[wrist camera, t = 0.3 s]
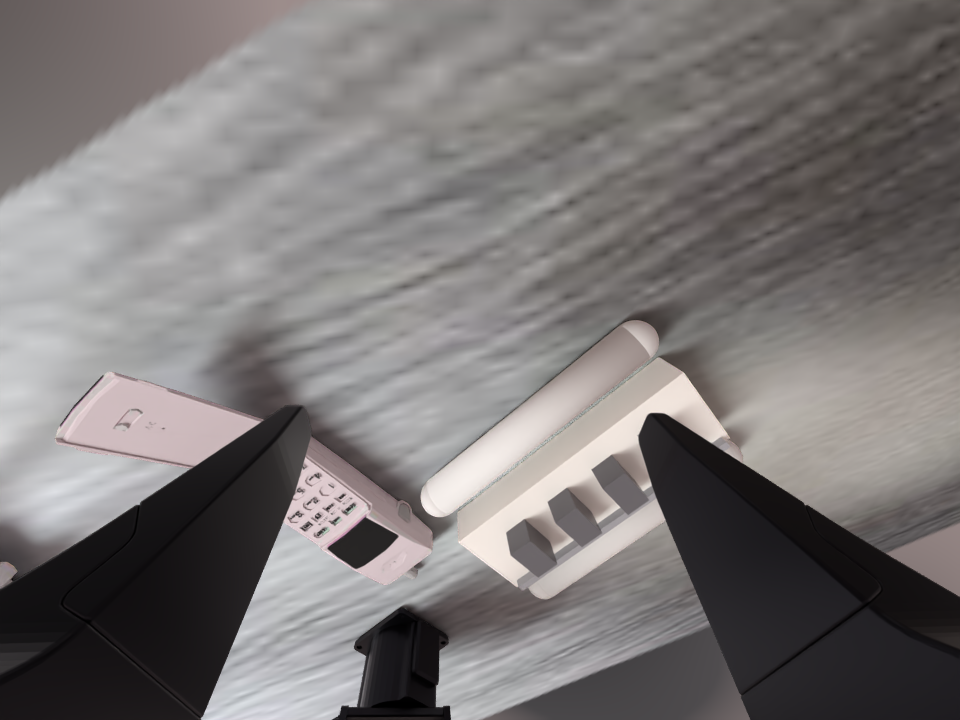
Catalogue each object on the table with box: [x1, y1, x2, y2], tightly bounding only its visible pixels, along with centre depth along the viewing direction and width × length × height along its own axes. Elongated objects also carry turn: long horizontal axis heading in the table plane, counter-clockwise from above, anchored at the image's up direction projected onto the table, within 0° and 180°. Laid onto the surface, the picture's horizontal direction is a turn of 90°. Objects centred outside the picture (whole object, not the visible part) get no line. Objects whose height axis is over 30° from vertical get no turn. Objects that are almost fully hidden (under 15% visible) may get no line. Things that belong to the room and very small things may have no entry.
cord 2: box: [421, 320, 659, 517], centre depth 26 cm, size 21×3×3 cm, turn 131°
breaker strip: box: [457, 357, 730, 591], centre depth 27 cm, size 20×7×5 cm, turn 131°
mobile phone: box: [55, 372, 433, 585], centre depth 25 cm, size 6×6×25 cm
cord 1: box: [528, 440, 743, 599], centre depth 30 cm, size 21×3×3 cm, turn 131°
